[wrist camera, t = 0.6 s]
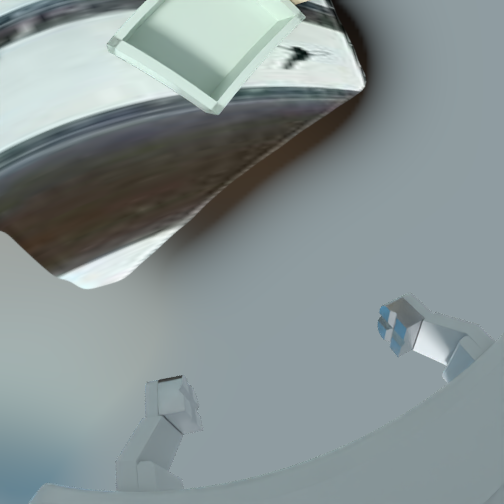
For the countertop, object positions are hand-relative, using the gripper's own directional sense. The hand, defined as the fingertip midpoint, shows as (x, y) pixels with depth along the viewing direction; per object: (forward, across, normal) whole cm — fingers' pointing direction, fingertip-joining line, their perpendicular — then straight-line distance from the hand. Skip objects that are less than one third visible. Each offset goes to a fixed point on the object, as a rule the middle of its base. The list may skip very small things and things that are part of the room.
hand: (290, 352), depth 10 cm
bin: (+44, -6, -26) cm, 51 cm away
